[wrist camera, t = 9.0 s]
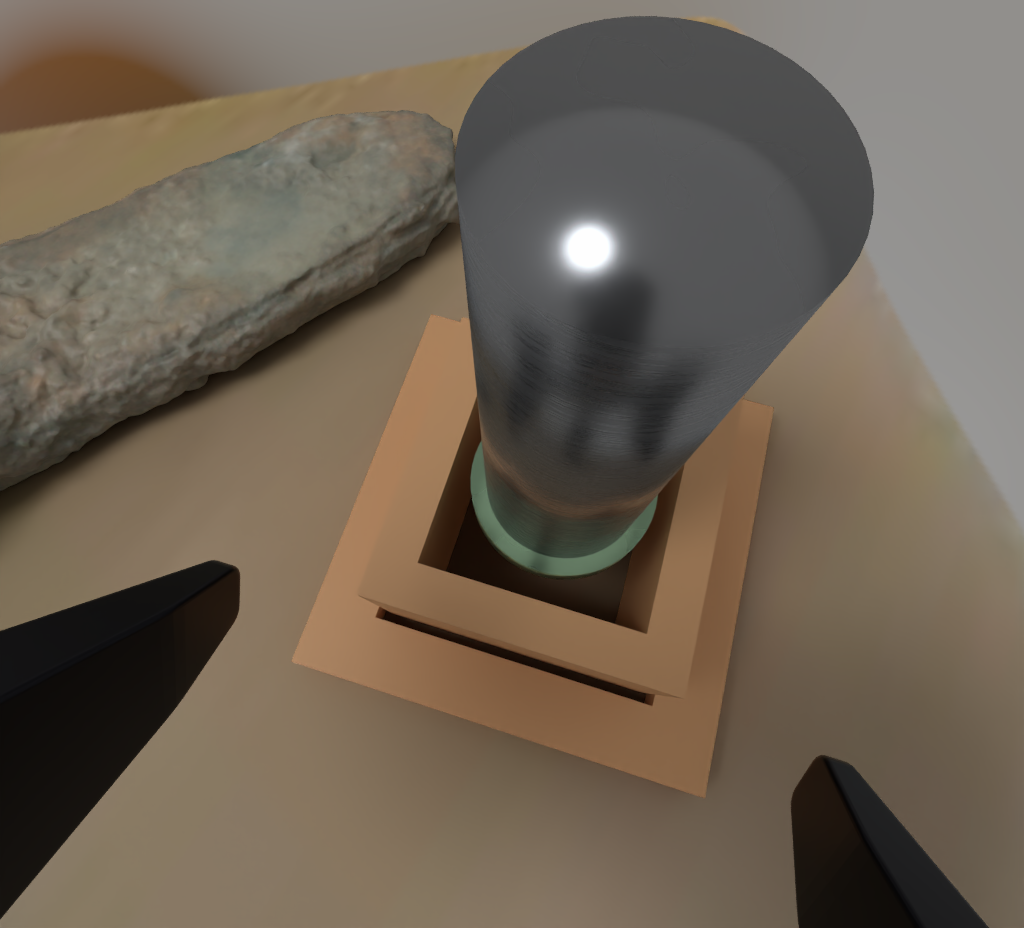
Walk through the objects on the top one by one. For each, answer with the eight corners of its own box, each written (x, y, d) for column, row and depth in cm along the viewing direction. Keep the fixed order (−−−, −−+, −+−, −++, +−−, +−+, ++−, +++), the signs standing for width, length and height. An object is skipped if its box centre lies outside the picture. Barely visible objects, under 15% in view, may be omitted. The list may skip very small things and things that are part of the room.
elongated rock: (519, 275, 27) (405, 140, 30) (525, 175, 22) (388, 27, 25) (-435, 774, 18) (-455, 513, 21) (-772, 792, 13) (-734, 451, 17)
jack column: (622, 606, 16) (891, 457, 5) (450, 553, 16) (334, 304, 5) (661, 443, 17) (934, 46, 6) (502, 398, 18) (499, -48, 7)
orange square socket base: (692, 790, 19) (765, 836, 14) (303, 661, 20) (231, 658, 15) (760, 420, 23) (836, 346, 18) (434, 331, 24) (415, 236, 19)
